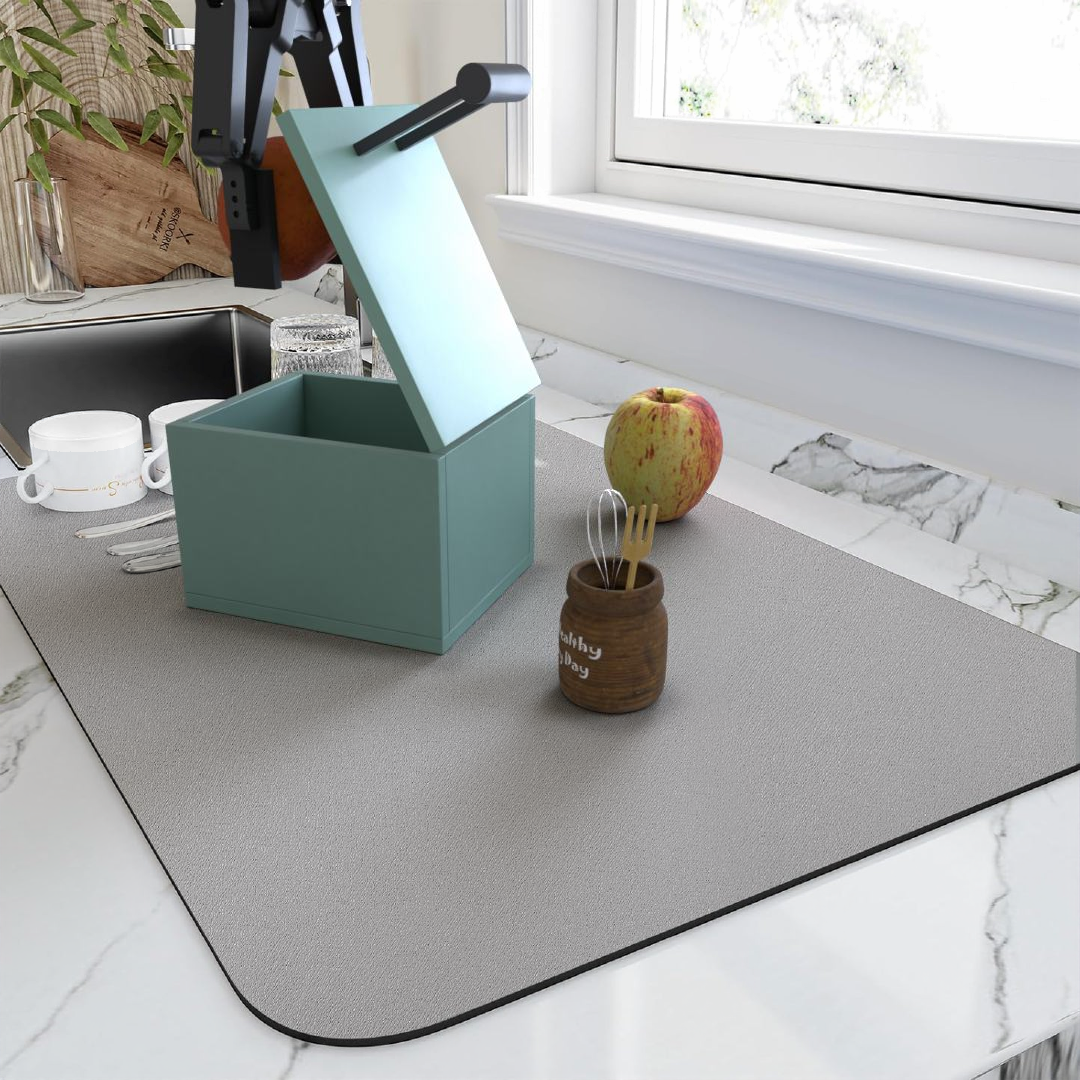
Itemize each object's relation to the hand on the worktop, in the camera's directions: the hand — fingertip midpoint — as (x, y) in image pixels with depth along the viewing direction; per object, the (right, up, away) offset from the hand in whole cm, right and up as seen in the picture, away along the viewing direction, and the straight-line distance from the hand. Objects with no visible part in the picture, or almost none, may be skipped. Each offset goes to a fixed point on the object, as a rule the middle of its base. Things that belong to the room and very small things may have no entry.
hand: (302, 274), depth 71 cm
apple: (+24, -14, +19) cm, 34 cm away
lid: (+7, 0, -3) cm, 8 cm away
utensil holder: (+19, -25, -7) cm, 32 cm away
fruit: (+2, +1, -1) cm, 2 cm away
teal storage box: (+3, -19, +6) cm, 20 cm away
